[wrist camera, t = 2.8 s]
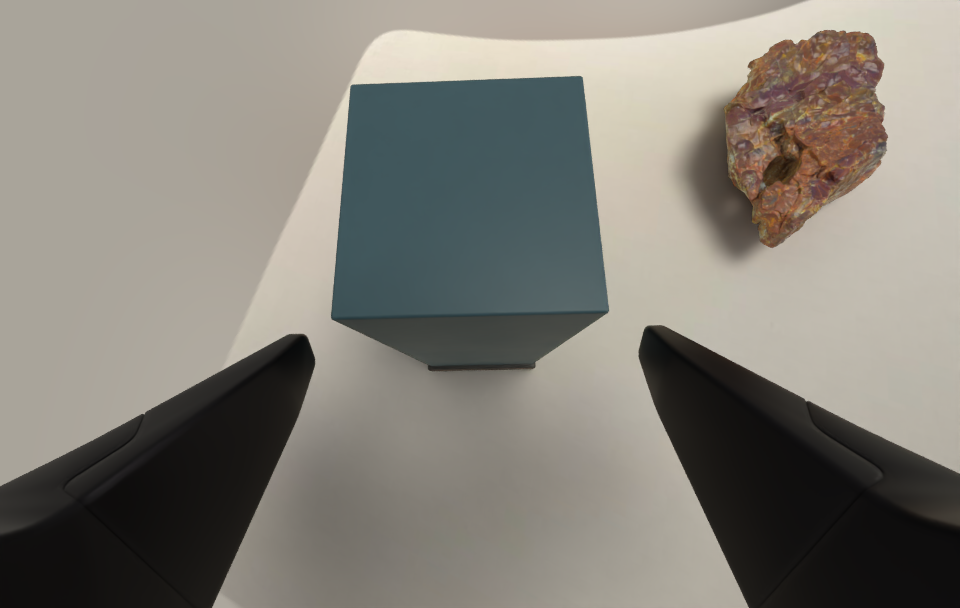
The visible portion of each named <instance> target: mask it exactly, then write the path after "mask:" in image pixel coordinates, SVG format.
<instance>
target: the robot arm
mask: <svg viewBox="0 0 960 608" xmlns="http://www.w3.org/2000/svg"><path fill="white" fill-rule="evenodd" d="M639 360H640V363H641V366H642V369H643V372H644V375H645V378H646V381H647V384H648V387H649V390H650V393H651V396H652V399H653V402H654V405H655V407H656V410H657V412H658V415H659V417H660V419H661V421H662V423H663V425H664V428H665V430H666V432H667V434H668V436H669V438H670V440H671V442H672V445H673V447H674V449H675V451H676V453H677V455H678V457H679V460H680V462H681V464H682V466H683V468H684V470H685V472H686V474H687V477H688V479H689V481H690V483H691V485H692V487H693V489H694V492H695V494H696V496H697V498H698V500H699V502H700V504H701V506H702V509H703V511H704V513H705V515H706V517H707V519H708V521H709V523H710V526H711V528H712V530H713V532H714V534H715V536H716V538H717V541H718V543H719V545H720V547H721V549H722V551H723V553H724V555H725V558H726V560H727V562H728V564H729V566H730V568H731V570H732V573H733V575H734V577H735V579H736V581H737V583H738V585H739V587H740V590H741V592H742V594H743V596H744V598H745V600H746V602H747V605H748V607H749V608H960V474H959V473H957V472H955V471H953V470H950V469H948V468H946V467H944V466H942V465H940V464H937V463H935V462H933V461H931V460H929V459H927V458H925V457H922V456H920V455H918V454H916V453H914V452H912V451H909V450H907V449H905V448H903V447H901V446H899V445H896V444H894V443H892V442H890V441H888V440H886V439H884V438H882V437H880V436H878V435H875V434H873V433H871V432H869V431H867V430H865V429H863V428H861V427H859V426H857V425H855V424H853V423H851V422H849V421H847V420H845V419H843V418H841V417H839V416H837V415H835V414H833V413H831V412H829V411H827V410H825V409H823V408H821V407H819V406H817V405H815V404H813V403H812V402H810V401H805V399H804V398H802V397H800V396H798V395H796V394H794V393H792V392H790V391H788V390H786V389H784V388H782V387H781V386H779V385H777V384H775V383H773V382H771V381H769V380H767V379H765V378H763V377H761V376H759V375H757V374H755V373H754V372H752V371H750V370H748V369H746V368H744V367H742V366H740V365H738V364H736V363H734V362H732V361H730V360H729V359H727V358H725V357H723V356H721V355H719V354H717V353H715V352H713V351H711V350H709V349H707V348H705V347H703V346H702V345H700V344H698V343H696V342H694V341H692V340H690V339H688V338H686V337H684V336H682V335H680V334H678V333H677V332H675V331H673V330H671V329H669V328H667V327H665V326H662V325H654V326H647V327H646V328H645V329H644V332H643V336H642V340H641V344H640V348H639ZM314 367H315V357H314V354H313V351H312V348H311V345H310V343H309V340H308V337H307V336H306V335H304V334H289V335H286V336H285V337H283V338H281V339H279V340H277V341H275V342H274V343H272V344H270V345H268V346H266V347H264V348H263V349H261V350H259V351H257V352H255V353H253V354H252V355H250V356H248V357H246V358H244V359H242V360H241V361H239V362H237V363H235V364H233V365H231V366H230V367H228V368H226V369H224V370H222V371H220V372H218V373H217V374H215V375H213V376H211V377H209V378H207V379H206V380H204V381H202V382H200V383H199V384H196V385H195V386H193V387H191V388H189V389H187V390H185V391H184V392H182V393H180V394H178V395H176V396H174V397H173V398H171V399H169V400H167V401H165V402H163V403H161V404H160V405H158V406H156V407H154V408H152V409H151V410H149V411H147V412H146V413H145V415H144V414H141V415H139V416H137V417H136V418H134V419H132V420H130V421H128V422H126V423H125V424H123V425H121V426H119V427H117V428H115V429H113V430H111V431H110V432H108V433H106V434H104V435H102V436H100V437H98V438H96V439H94V440H93V441H91V442H89V443H87V444H85V445H83V446H81V447H79V448H77V449H75V450H73V451H71V452H69V453H67V454H65V455H63V456H61V457H59V458H57V459H55V460H53V461H51V462H49V463H47V464H45V465H43V466H41V467H38V468H36V469H34V470H33V471H30V472H29V473H26V474H24V475H22V476H20V477H18V478H16V479H14V480H12V481H10V482H8V483H6V484H4V485H2V486H0V608H212V606H213V604H214V602H215V600H216V597H217V595H218V593H219V591H220V589H221V586H222V584H223V582H224V580H225V578H226V575H227V573H228V571H229V569H230V567H231V564H232V562H233V560H234V558H235V556H236V553H237V551H238V549H239V547H240V544H241V542H242V540H243V538H244V536H245V533H246V531H247V529H248V527H249V525H250V522H251V520H252V518H253V516H254V514H255V511H256V509H257V507H258V505H259V503H260V500H261V498H262V496H263V494H264V491H265V489H266V487H267V485H268V483H269V480H270V478H271V476H272V474H273V472H274V469H275V467H276V465H277V463H278V461H279V458H280V456H281V454H282V452H283V449H284V447H285V445H286V443H287V441H288V438H289V436H290V434H291V432H292V430H293V427H294V425H295V423H296V420H297V418H298V416H299V413H300V410H301V407H302V404H303V401H304V398H305V395H306V392H307V389H308V386H309V383H310V379H311V376H312V373H313V370H314Z"/></svg>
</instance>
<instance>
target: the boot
mask: <svg viewBox="0 0 960 608" xmlns="http://www.w3.org/2000/svg"><path fill="white" fill-rule="evenodd" d="M608 311H609V306H608V297H607V289H606V280H605V271H604V262H603V253H602V244H601V235H600V227H599V218H598V209H597V200H596V191H595V182H594V173H593V164H592V156H591V147H590V138H589V129H588V120H587V111H586V102H585V94H584V85H583V78H582V77H581V76H571V77H544V78H518V79H491V80H464V81H438V82H411V83H385V84H358V85H351V88H350V100H349V112H348V124H347V135H346V147H345V159H344V171H343V182H342V194H341V206H340V218H339V229H338V241H337V253H336V265H335V277H334V288H333V300H332V312H331V318H332V320H334V321H336V322H339V323H341V324H343V325H345V326H347V327H349V328H351V329H353V330H355V331H358V332H360V333H362V334H364V335H366V336H368V337H370V338H372V339H375V340H377V341H379V342H381V343H383V344H385V345H387V346H389V347H392V348H394V349H396V350H398V351H400V352H402V353H404V354H406V355H408V356H411V357H413V358H415V359H417V360H419V361H421V362H423V363H425V364H428V370H430V371H462V370H508V369H533V368H535V362H536V361H537V360H539V359H540V358H542V357H543V356H545V355H546V354H548V353H549V352H551V351H552V350H554V349H555V348H557V347H558V346H560V345H561V344H562V343H564V342H565V341H567V340H568V339H570V338H571V337H573V336H574V335H576V334H577V333H579V332H580V331H582V330H583V329H585V328H586V327H588V326H589V325H590V324H592V323H593V322H595V321H596V320H598V319H599V318H601V317H602V316H604V315H605V314H607V313H608Z"/></svg>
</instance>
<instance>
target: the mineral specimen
mask: <svg viewBox="0 0 960 608" xmlns="http://www.w3.org/2000/svg"><path fill="white" fill-rule="evenodd" d="M748 68H750V69H751V72H750V73H749V75H748V76H747V77H748V80H747V83H746V84H744V85H743V86H742V87H741V89H740V91H739V92H738V93H737V95H736V97H735V98H734V99H733V100H732V101H731V102H730V103H728V105H727V106H725V107H724V111H725V124H726V142H727V151H728V154H727V164H728V166H729V168H728V174H729V178H730V179H731V180H732V183H733V185H734V186H735V187H737V188H738V189H739V190H741V191H742V192H744V193H745V194H746V196H747V197H748V198H749V200H750V202H751V204H752V205H753V211H752V223H755V224H758V223H760V224H759V226H758V230H759V238H760V241H761V242H762V243H763V244H764V245H766V246H768V247H770V248H773V247H776V246H778V245H779V244H780V243H783V242H784V240H785V239H786V238H788V237H790V236H791V235H792V234H793V233H795V232H796V231H798V230H799V229H800V228H801V227H803V224H804V223H805V221H806V220H807V219H809V218H811V217H812V216H813V215H814V214H816V213H817V211H818V210H819V209H820V208H821V207H822V206H824V205H826V204H828V203H830V202H832V201H833V200H835V199H837V198H839V197H841V196H843V195H845V194H847V193H849V192H850V191H852V190H853V189H854V188H856V187H857V186H858V185H859V184H860V183H862V182H863V181H864V180H865V179H867V178H869V177H870V176H871V175H872V174H873V173H874V171H875V170H876V169H877V168H878V167H879V166H880V164H881V160H880V159H881V158H882V157H883V156H884V155H885V153H886V151H887V150H886V144H887V143H886V141H887V138H888V135H887V134H886V132H885V128H884V127H883V125H882V122H883V120H884V112H885V106H884V105H882V104H881V103H880V102H879V101H878V99H877V96H876V94H875V90H876V89H875V87H876V86H877V84H878V82H879V81H880V79H881V77H882V72H883V69H884V63H883V62H882V61H881V59H879V58H878V56H877V46H876V43H875V40H874V38H873V37H872V36H871V35H869V34H868V33H861V32H850V33H847V34H846V31H840V32H836V31H834V30H824V31H820V32H817V33H816V34H815V35H814V36H812V37H811V38H810V39H809V40H808V41H806V40H801V41H800V42H799V43H798V44H795V43H793V41H792V40H783V41H781V42H779V43H777V44H775V45H774V46H772V47H771V48H770V49H769V51H768V52H767V53H766V54H764V55H763V57H760V58H757V59H755V60H753V61H751V62H750V63H749V65H748ZM767 186H768V187H767Z"/></svg>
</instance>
